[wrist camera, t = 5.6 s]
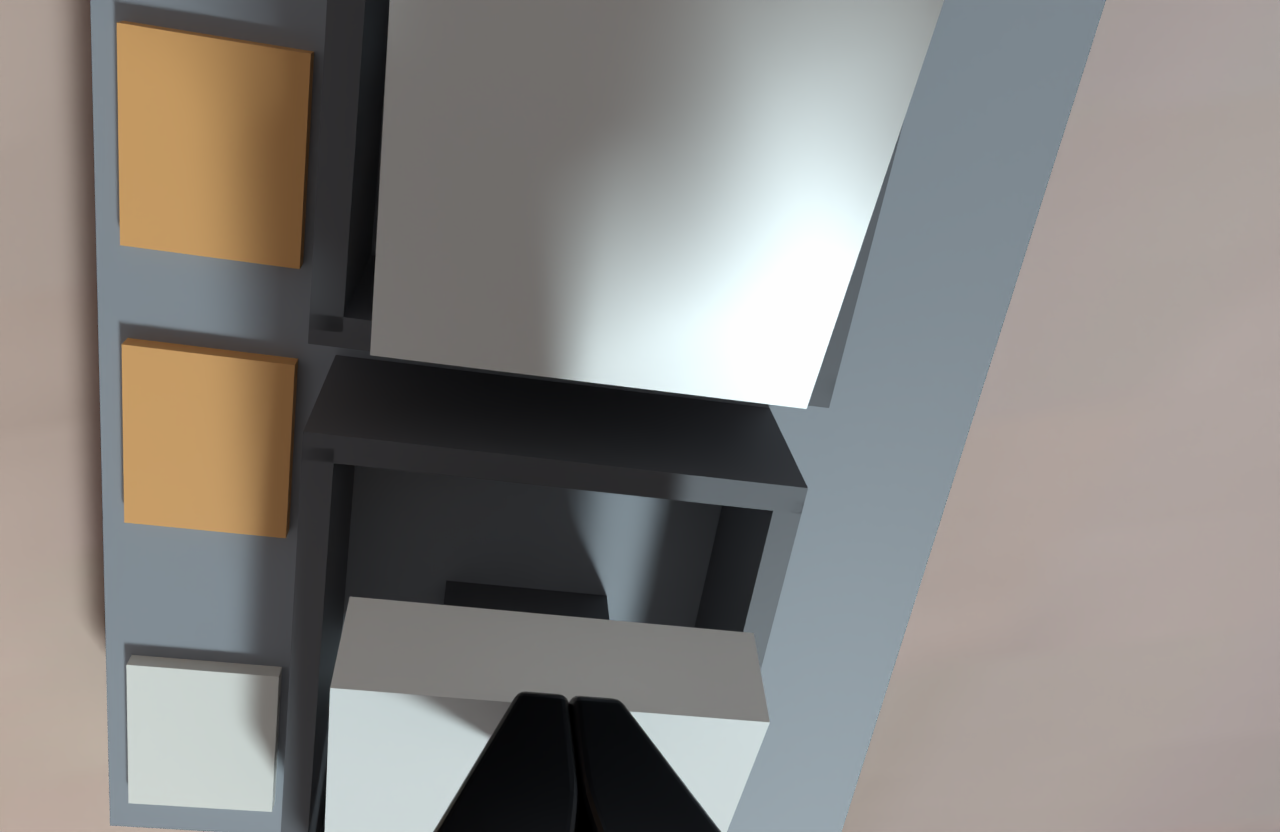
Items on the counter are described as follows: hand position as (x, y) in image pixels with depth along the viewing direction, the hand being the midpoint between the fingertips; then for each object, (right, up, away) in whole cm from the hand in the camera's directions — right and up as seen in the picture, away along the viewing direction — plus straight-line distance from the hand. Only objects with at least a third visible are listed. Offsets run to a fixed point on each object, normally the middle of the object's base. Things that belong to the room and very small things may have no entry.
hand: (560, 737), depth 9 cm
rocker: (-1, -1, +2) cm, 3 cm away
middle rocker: (+1, +6, -1) cm, 6 cm away
